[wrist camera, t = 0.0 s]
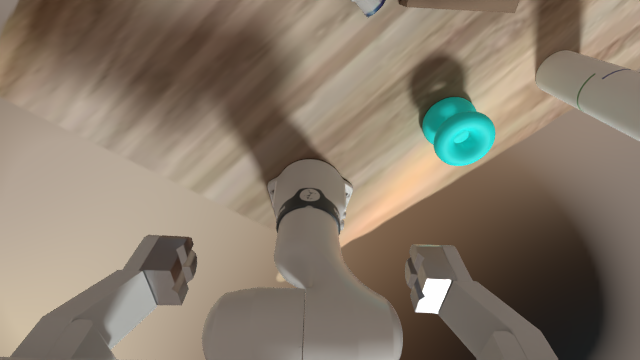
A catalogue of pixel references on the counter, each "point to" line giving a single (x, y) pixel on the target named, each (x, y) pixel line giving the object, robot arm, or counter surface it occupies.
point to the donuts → (458, 131)
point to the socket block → (465, 5)
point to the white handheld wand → (369, 6)
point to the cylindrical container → (594, 88)
